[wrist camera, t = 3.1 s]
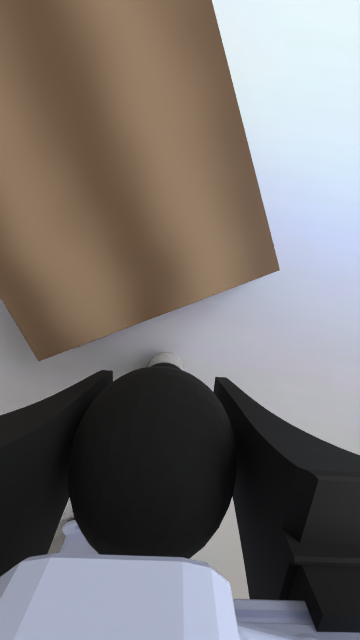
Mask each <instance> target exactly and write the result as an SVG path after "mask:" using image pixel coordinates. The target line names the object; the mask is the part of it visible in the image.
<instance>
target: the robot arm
mask: <svg viewBox="0 0 360 640" xmlns="http://www.w3.org/2000/svg"><path fill="white" fill-rule="evenodd" d="M112 382H113V371H107V370H101V371H99V372H97V373H95V374H93V375H91V376H89V377H87V378H86V379H84V380H82V381H80V382H78V383H77V384H75V385H73V386H71V387H69V388H67V389H65V390H63V391H61V392H59V393H57V394H55V395H53V396H51V397H49V398H46V399H44V400H42V401H39V402H37V403H34V404H32V405H29V406H27V407H24V408H21V409H18V410H15V411H12V412H10V413H7V414H4V415H1V416H0V640H360V455H357V454H354V453H352V452H349V451H347V450H344V449H341V448H339V447H337V446H334V445H332V444H330V443H327V442H325V441H323V440H321V439H318V438H316V437H314V436H312V435H310V434H308V433H306V432H304V431H302V430H300V429H298V428H297V427H295V426H293V425H291V424H289V423H287V422H286V421H284V420H282V419H281V418H279V417H278V416H276V415H274V414H273V413H271V412H270V411H268V410H267V409H265V408H264V407H262V406H261V405H260V404H258V403H257V402H256V401H254V400H253V399H252V398H250V397H249V396H248V395H247V394H245V393H244V392H243V391H242V390H241V389H239V388H238V387H237V386H236V385H235V384H234V383H232V382H231V381H230V380H229V379H227V378H224V377H215V385H214V394H215V395H216V396H217V398H218V399H219V401H220V402H221V403H222V405H223V407H224V409H225V411H226V413H227V415H228V418H229V420H230V423H231V427H232V430H233V433H234V437H235V442H236V454H237V474H236V480H235V485H234V490H233V495H232V496H233V501H234V506H235V512H236V517H237V523H238V528H239V534H240V540H241V546H242V552H243V558H244V564H245V571H246V577H247V584H248V590H249V597H250V599H233V598H232V593H231V588H230V583H229V582H228V581H227V580H226V579H225V578H224V577H223V576H222V575H221V574H220V573H219V572H217V571H216V570H215V569H214V568H212V567H211V566H210V565H209V564H208V563H205V562H201V561H196V560H192V559H187V558H183V557H156V556H126V555H99V554H98V553H97V552H96V551H95V550H94V549H93V548H92V547H91V546H90V545H89V543H88V542H87V540H86V539H85V537H84V535H83V534H82V532H81V530H80V528H79V527H78V525H77V523H76V521H75V520H72V521H68V522H66V523H65V524H64V526H63V528H62V531H63V533H64V534H65V536H66V538H65V540H64V543H63V545H62V547H61V550H60V552H59V553H53V554H47V553H48V551H49V548H50V546H51V543H52V540H53V538H54V535H55V532H56V530H57V527H58V524H59V522H60V519H61V517H62V514H63V512H64V509H65V507H66V504H67V502H68V499H69V497H70V496H69V492H68V462H69V455H70V451H71V447H72V444H73V440H74V437H75V433H76V430H77V428H78V426H79V423H80V421H81V420H82V418H83V416H84V415H85V413H86V411H87V409H88V408H89V406H90V405H91V403H92V402H93V401H94V400H95V398H96V397H97V396H98V395H99V394H100V393H101V392H102V391H103V390H104V389H105V388H106V387H107V386H109V385H110V384H111V383H112Z"/></svg>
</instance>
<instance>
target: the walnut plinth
mask: <svg viewBox="0 0 360 640" xmlns="http://www.w3.org/2000/svg"><path fill="white" fill-rule="evenodd" d="M279 270H280V269H279V265H278V261H277V257H276V253H275V249H274V245H273V241H272V237H271V233H270V229H269V225H268V221H267V217H266V214H265V210H264V206H263V202H262V198H261V194H260V190H259V186H258V182H257V178H256V174H255V170H254V166H253V162H252V158H251V154H250V150H249V146H248V142H247V138H246V134H245V130H244V126H243V123H242V119H241V115H240V111H239V107H238V103H237V99H236V95H235V91H234V87H233V83H232V79H231V75H230V71H229V67H228V63H227V59H226V55H225V51H224V47H223V43H222V39H221V35H220V32H219V28H218V24H217V20H216V16H215V12H214V8H213V4H212V0H0V297H1V299H2V301H3V302H4V304H5V306H6V307H7V309H8V311H9V312H10V314H11V316H12V317H13V319H14V321H15V322H16V324H17V326H18V328H19V329H20V331H21V333H22V334H23V336H24V338H25V339H26V341H27V343H28V344H29V346H30V348H31V349H32V351H33V353H34V354H35V356H36V358H37V360H38V361H41V360H43V359H46V358H48V357H51V356H54V355H56V354H59V353H62V352H64V351H67V350H70V349H72V348H75V347H78V346H80V345H83V344H86V343H88V342H91V341H93V340H96V339H99V338H101V337H104V336H107V335H109V334H112V333H115V332H117V331H120V330H123V329H125V328H128V327H130V326H133V325H136V324H138V323H141V322H144V321H146V320H149V319H152V318H154V317H157V316H160V315H162V314H165V313H167V312H170V311H173V310H175V309H178V308H181V307H183V306H186V305H189V304H191V303H194V302H197V301H199V300H202V299H205V298H207V297H210V296H212V295H215V294H218V293H220V292H223V291H226V290H228V289H231V288H234V287H236V286H239V285H242V284H244V283H247V282H249V281H252V280H255V279H257V278H260V277H263V276H265V275H268V274H271V273H273V272H276V271H279Z"/></svg>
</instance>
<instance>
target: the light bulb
mask: <svg viewBox="0 0 360 640" xmlns="http://www.w3.org/2000/svg"><path fill="white" fill-rule="evenodd" d="M236 474H237V454H236V442H235V437H234V433H233V430H232V427H231V423H230V420H229V418H228V415H227V413H226V411H225V409H224V407H223V405H222V403H221V402H220V401H219V399H218V398H217V396H216V395H215V394H214V392H213V391H212V390H211V389H210V388H209V387H208V386H207V385H205V384H204V383H203V382H202V381H200V380H199V379H197V378H196V377H194V376H193V375H191V374H189V373H187V372H185V371H184V366H183V363H182V361H181V360H180V358H179V357H177V356H176V355H174V354H171V353H160V354H158V355H156V356H155V357H153V359H152V360H151V361H150V363H149V365H148V367H146V368H141V369H138V370H134V371H132V372H129V373H127V374H125V375H123V376H121V377H120V378H118V379H116V380H115V381H113V382H112V383H111V384H110V385H109V386H107V387H106V388H105V389H104V390H103V391H102V392H101V393H100V394H99V395H98V396H97V397H96V398H95V400H94V401H93V402H92V403H91V405H90V406H89V408H88V409H87V411H86V413H85V415H84V416H83V418H82V420H81V421H80V423H79V426H78V428H77V430H76V433H75V437H74V440H73V444H72V447H71V451H70V455H69V462H68V492H69V496H70V501H71V505H72V509H73V513H74V518H75V521H76V523H77V525H78V527H79V528H80V530H81V532H82V534H83V535H84V537H85V539H86V540H87V542H88V543H89V545H90V546H91V547H92V548H93V549H94V550H95V551H96V552H97V553H98V554H99V555H126V556H156V557H183V558H187V559H189V558H191V557H192V556H193V555H194V554H196V553H197V552H198V551H199V550H201V549H202V548H203V547H204V546H205V545H206V543H207V542H208V541H209V540H210V538H211V537H212V536H213V534H214V533H215V532H216V530H217V529H218V528H219V526H220V524H221V522H222V520H223V518H224V516H225V514H226V512H227V510H228V507H229V505H230V502H231V498H232V495H233V490H234V485H235V480H236Z"/></svg>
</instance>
